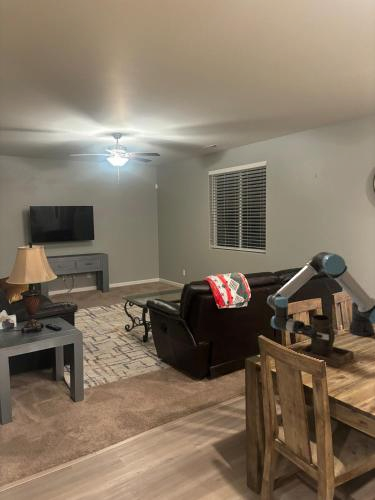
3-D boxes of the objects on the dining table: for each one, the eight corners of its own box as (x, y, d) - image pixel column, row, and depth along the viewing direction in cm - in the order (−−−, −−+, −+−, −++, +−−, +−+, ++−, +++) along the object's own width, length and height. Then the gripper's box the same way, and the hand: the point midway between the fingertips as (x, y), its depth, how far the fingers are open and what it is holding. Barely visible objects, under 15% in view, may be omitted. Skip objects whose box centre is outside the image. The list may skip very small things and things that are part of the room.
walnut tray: (314, 347, 215) (314, 341, 215) (353, 357, 199) (353, 351, 198) (297, 356, 203) (297, 350, 203) (337, 367, 186) (337, 361, 186)
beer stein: (305, 350, 206) (307, 316, 202) (319, 345, 211) (321, 312, 207) (328, 361, 192) (329, 325, 188) (342, 356, 197) (344, 321, 193)
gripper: (305, 328, 221) (342, 337, 204) (285, 337, 206) (323, 347, 189) (305, 316, 220) (342, 323, 203) (285, 324, 205) (323, 333, 189)
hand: (333, 335), depth 196 cm, fingers closed on beer stein, 9 cm apart
